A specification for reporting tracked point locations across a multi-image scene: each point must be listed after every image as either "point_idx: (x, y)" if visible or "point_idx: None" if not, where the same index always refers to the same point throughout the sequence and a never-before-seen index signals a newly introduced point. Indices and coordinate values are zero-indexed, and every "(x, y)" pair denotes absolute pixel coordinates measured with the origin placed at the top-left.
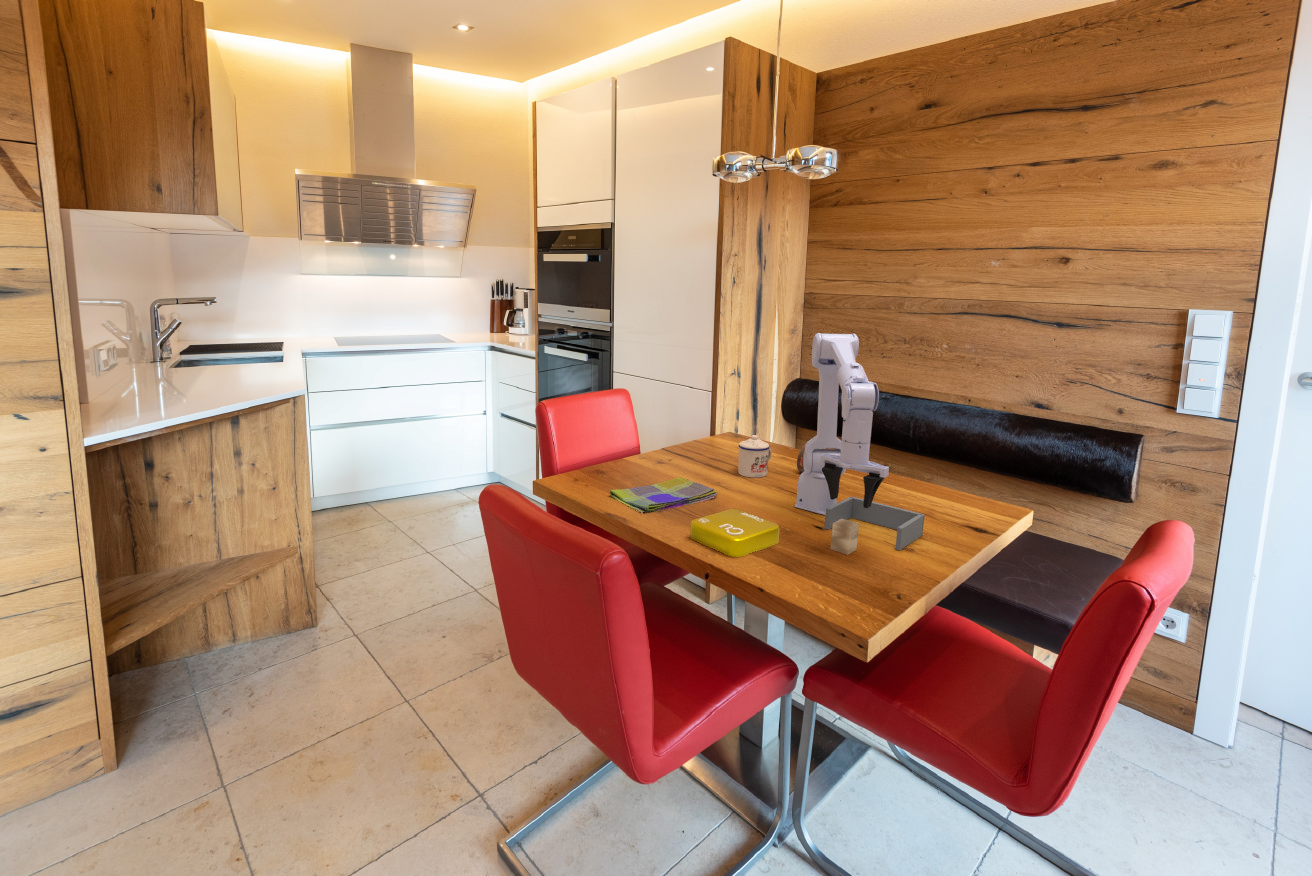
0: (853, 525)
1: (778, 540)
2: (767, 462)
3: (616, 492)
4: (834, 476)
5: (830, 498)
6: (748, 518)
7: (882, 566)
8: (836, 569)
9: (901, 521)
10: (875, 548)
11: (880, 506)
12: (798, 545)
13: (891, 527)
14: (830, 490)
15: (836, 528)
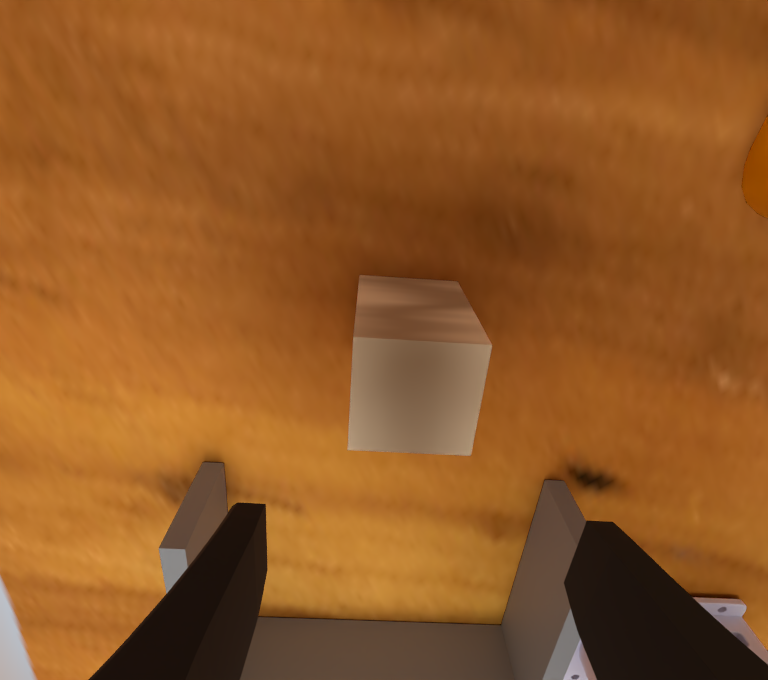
0: (358, 395)
1: (753, 181)
2: None
3: None
4: None
5: (616, 525)
6: None
7: (158, 247)
8: (318, 17)
9: (293, 659)
10: (292, 423)
11: None
12: (625, 220)
13: (335, 623)
14: (673, 596)
15: (454, 329)
